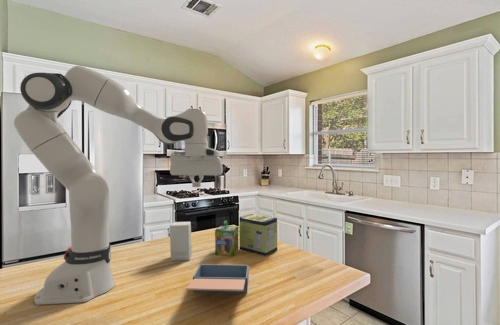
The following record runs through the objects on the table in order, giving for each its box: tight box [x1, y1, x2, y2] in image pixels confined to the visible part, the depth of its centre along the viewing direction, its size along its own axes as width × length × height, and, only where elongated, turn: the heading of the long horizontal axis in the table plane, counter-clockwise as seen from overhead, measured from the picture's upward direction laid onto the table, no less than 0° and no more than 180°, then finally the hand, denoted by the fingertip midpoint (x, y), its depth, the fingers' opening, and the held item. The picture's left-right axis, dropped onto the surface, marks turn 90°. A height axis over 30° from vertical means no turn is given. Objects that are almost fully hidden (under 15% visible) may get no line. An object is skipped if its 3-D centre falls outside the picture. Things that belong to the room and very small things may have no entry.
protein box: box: [239, 213, 278, 257], centre depth 133 cm, size 10×16×16 cm
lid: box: [185, 278, 245, 291], centre depth 85 cm, size 17×11×1 cm, turn 88°
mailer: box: [192, 263, 250, 294], centre depth 97 cm, size 18×11×5 cm, turn 88°
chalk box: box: [214, 219, 239, 257], centre depth 129 cm, size 9×9×15 cm
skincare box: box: [169, 221, 193, 262], centre depth 122 cm, size 8×7×16 cm
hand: (196, 186), depth 108 cm, fingers closed
